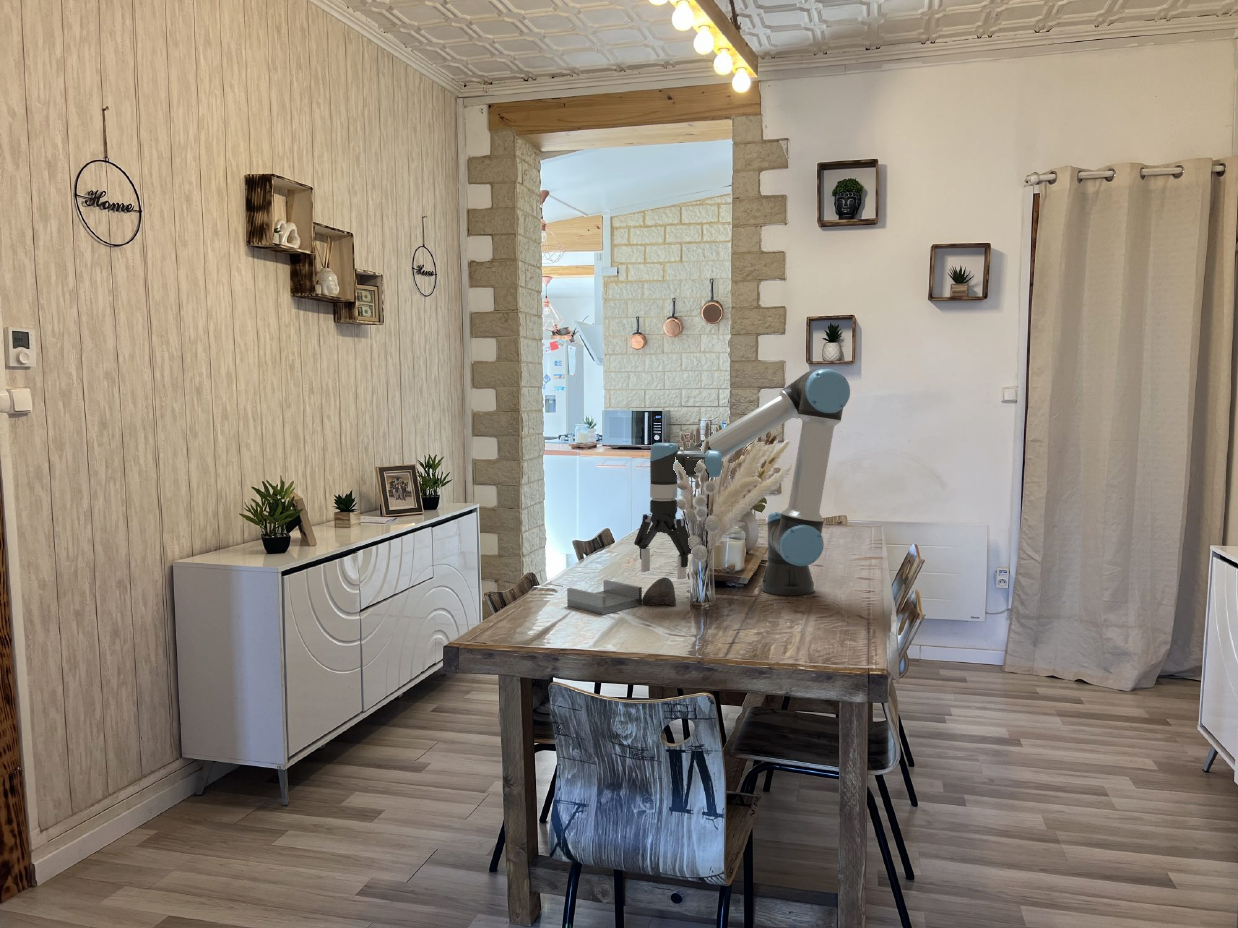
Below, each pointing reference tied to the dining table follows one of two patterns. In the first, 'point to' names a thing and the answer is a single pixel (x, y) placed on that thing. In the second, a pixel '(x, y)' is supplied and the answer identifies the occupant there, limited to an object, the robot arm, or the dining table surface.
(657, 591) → the stone
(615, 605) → the lip bracket
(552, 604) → the dining table surface
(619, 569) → the dining table surface
